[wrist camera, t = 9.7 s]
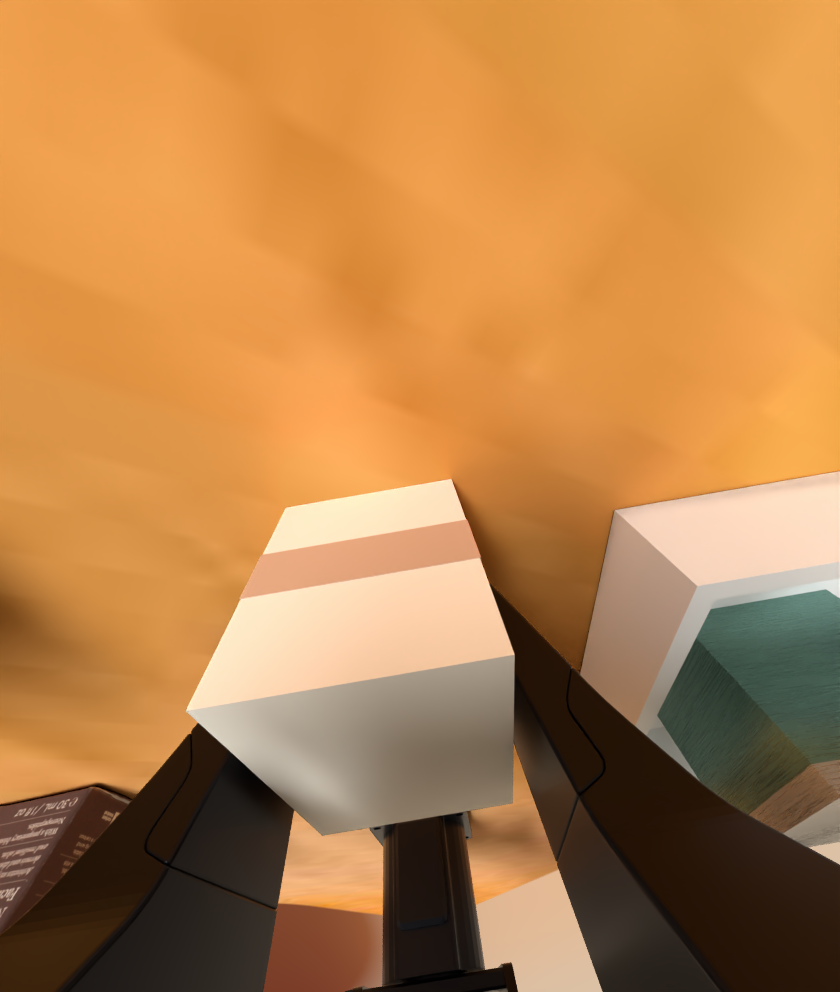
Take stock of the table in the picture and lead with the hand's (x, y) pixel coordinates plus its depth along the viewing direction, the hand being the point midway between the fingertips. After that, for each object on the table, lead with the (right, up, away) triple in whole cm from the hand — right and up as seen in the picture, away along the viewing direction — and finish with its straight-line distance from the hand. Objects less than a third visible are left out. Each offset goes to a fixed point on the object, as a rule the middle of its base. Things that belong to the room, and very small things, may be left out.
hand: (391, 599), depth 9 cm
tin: (+13, -3, +4) cm, 14 cm away
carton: (0, +1, +1) cm, 1 cm away
